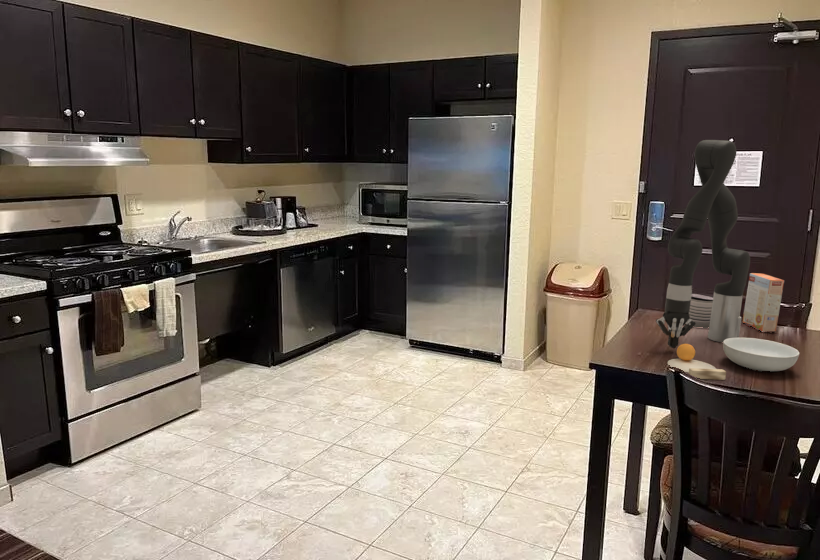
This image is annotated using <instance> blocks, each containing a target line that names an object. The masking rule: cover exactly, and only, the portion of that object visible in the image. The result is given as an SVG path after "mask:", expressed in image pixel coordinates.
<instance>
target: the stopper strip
mask: <svg viewBox="0 0 820 560" xmlns="http://www.w3.org/2000/svg"><path fill="white" fill-rule="evenodd" d="M688 374H690V375H692V376H694V377H697V378H700V379H699V380H715V381H717V380H718V381H719V380H720V381H721V380H723V381H725V380H726V378H727V377H726V376H727V371H726V370H724V369H721V368H720V369H719V368H716V369H696V368H689V373H688Z"/></svg>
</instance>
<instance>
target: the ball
mask: <svg viewBox="0 0 820 560" xmlns="http://www.w3.org/2000/svg"><path fill="white" fill-rule="evenodd" d="M676 348H677V349H676V356H677V357H678V359H682V360H684V361H689V360H694V357H695V356H696V350H695V348H694V346H693V345H691V344H690V343H681V344H680V345H678V346H677V347H676Z"/></svg>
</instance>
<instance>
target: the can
mask: <svg viewBox="0 0 820 560" xmlns="http://www.w3.org/2000/svg"><path fill="white" fill-rule="evenodd" d="M712 303H713V296H708V295H702V294H699V293H698V294H697V293H692V297H691V303H690V311H689V316H690V319H691V320H692V321H694V322H695V323H696V324H695V325H694V327H703V328H708V327H709V325H710V317H711V310H712ZM685 324H686V323H685ZM685 324H684V325H685ZM694 327H693V328H694ZM708 329H709V328H708Z"/></svg>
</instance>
